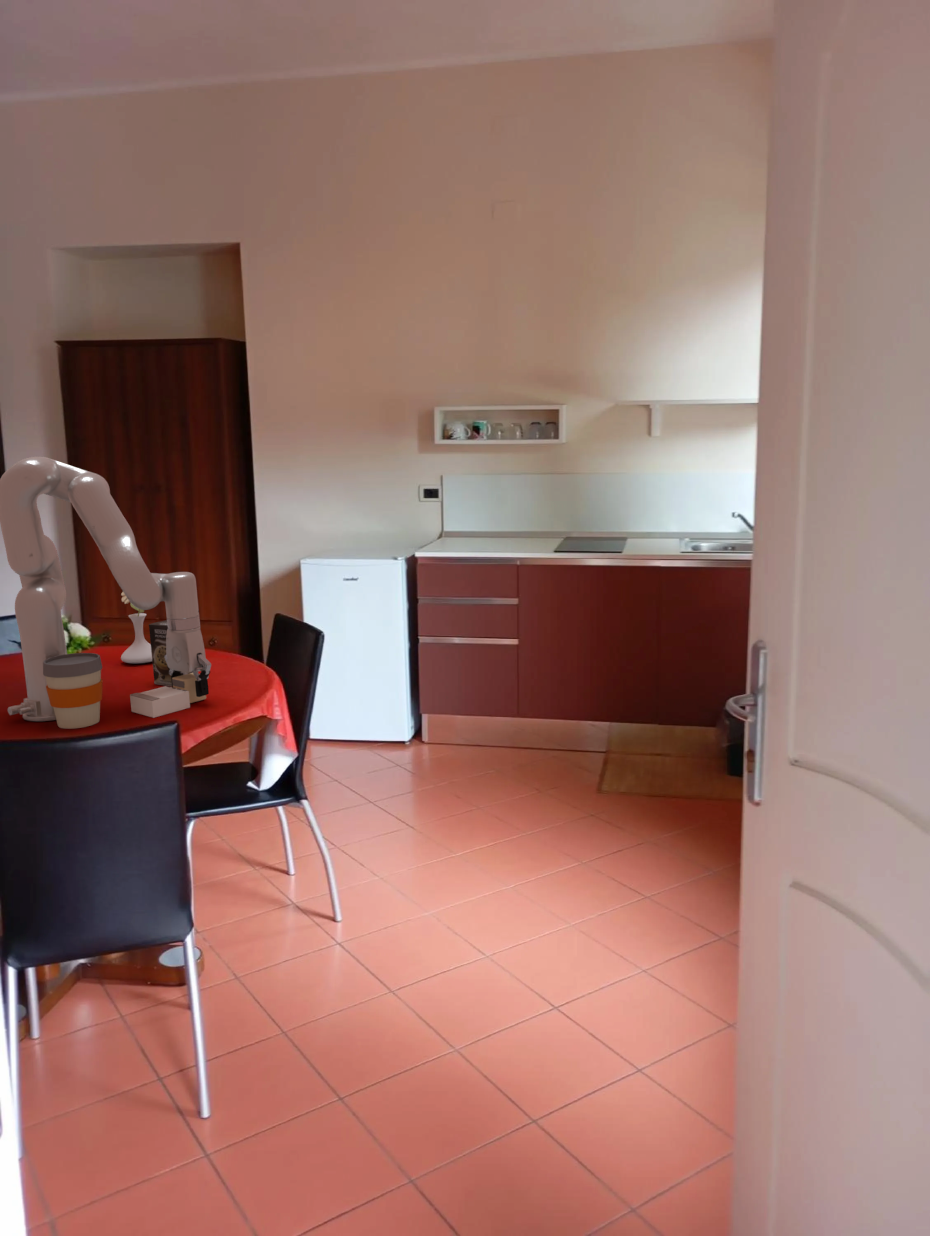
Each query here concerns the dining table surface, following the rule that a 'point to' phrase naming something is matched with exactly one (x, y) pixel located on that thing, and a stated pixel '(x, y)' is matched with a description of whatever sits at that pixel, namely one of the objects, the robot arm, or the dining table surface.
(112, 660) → the dining table surface
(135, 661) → the flower in vase
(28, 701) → the robot arm
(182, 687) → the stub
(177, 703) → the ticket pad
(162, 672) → the coffee box
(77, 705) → the reusable coffee cup
